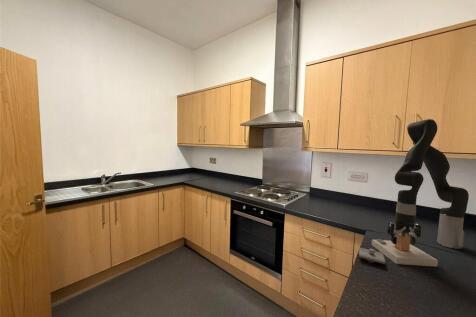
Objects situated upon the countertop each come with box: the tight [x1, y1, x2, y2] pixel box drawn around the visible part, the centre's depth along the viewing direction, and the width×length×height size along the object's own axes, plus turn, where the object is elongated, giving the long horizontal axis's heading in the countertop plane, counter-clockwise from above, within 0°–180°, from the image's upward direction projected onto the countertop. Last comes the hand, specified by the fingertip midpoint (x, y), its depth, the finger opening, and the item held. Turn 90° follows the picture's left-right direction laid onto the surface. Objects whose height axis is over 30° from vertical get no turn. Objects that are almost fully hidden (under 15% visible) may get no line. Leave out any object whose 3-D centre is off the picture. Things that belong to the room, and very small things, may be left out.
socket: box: [371, 238, 439, 268], centre depth 100 cm, size 18×18×4 cm
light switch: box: [358, 247, 386, 265], centre depth 94 cm, size 10×10×5 cm
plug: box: [395, 233, 411, 252], centre depth 100 cm, size 4×4×12 cm
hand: (402, 244), depth 100 cm, fingers open, 8 cm apart
